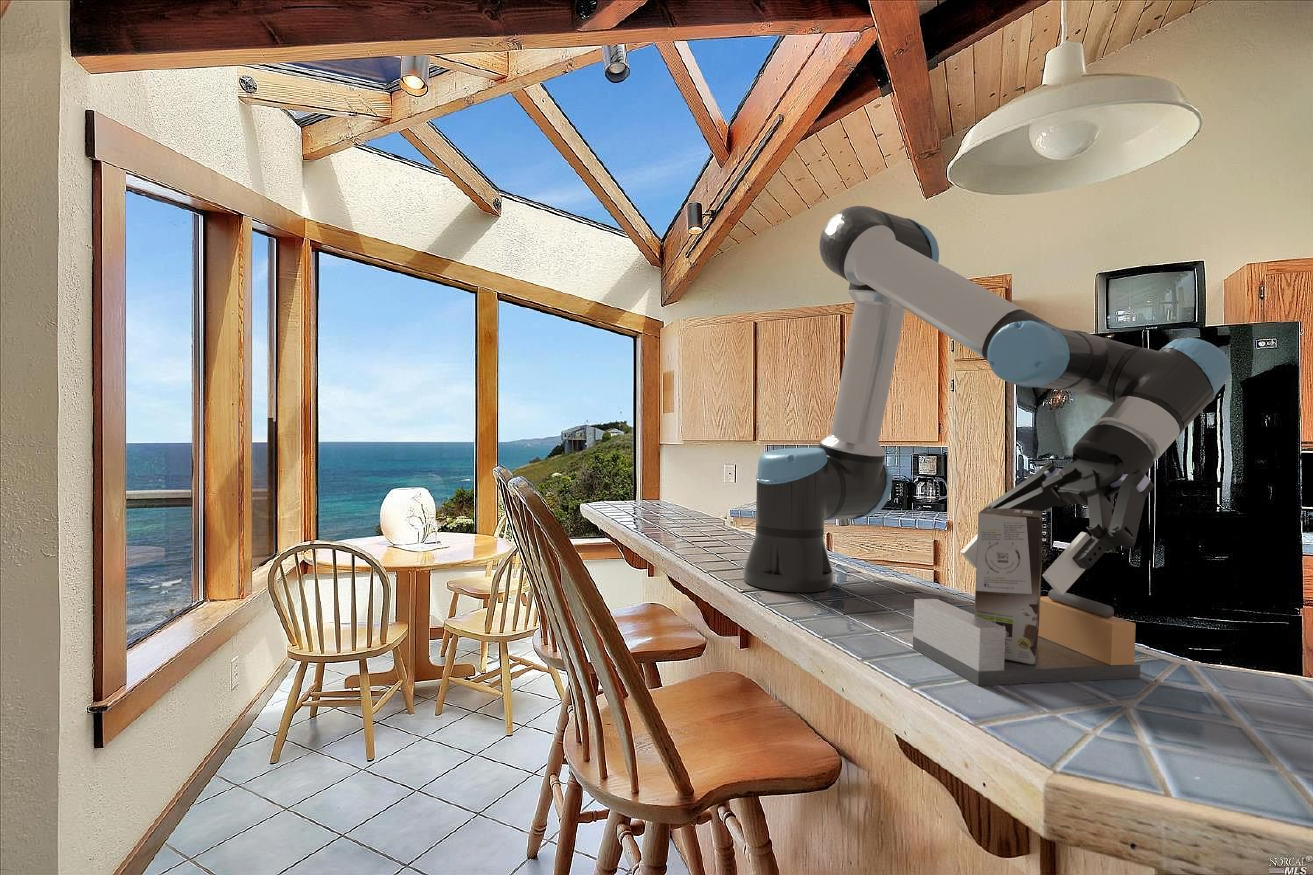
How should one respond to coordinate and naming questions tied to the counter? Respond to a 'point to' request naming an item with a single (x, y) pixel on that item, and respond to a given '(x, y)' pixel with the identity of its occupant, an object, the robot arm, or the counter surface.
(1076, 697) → the counter surface
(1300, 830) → the counter surface
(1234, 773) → the counter surface
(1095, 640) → the block
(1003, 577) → the coffee box
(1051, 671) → the vise bed
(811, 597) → the counter surface
